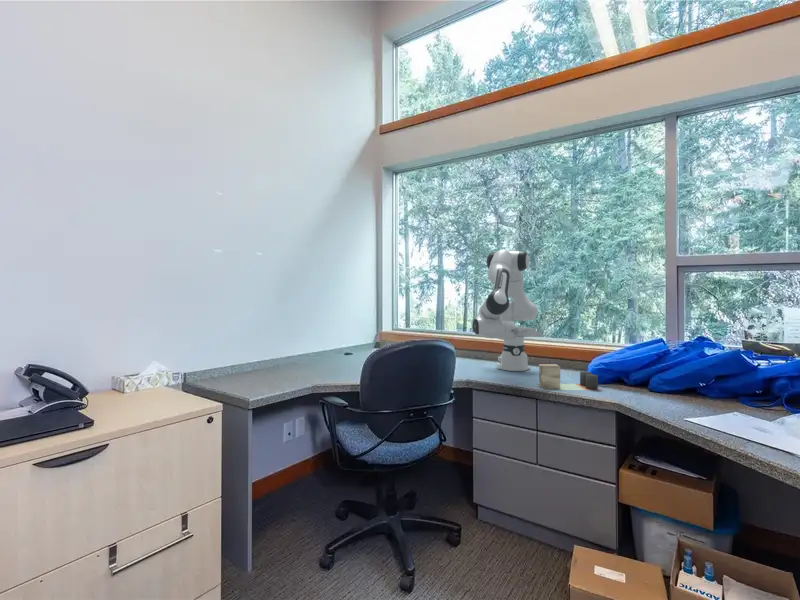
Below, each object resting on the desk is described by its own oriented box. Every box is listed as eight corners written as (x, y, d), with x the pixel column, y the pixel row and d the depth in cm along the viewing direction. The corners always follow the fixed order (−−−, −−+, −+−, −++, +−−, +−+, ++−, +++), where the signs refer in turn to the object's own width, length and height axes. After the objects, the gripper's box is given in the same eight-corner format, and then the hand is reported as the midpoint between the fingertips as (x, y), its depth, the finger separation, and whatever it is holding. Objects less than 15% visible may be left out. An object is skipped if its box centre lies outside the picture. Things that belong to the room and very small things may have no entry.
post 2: (583, 387, 184) (583, 374, 184) (594, 387, 184) (594, 374, 184) (588, 389, 179) (588, 376, 179) (599, 389, 179) (600, 376, 179)
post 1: (578, 384, 190) (578, 371, 190) (588, 384, 190) (589, 371, 190) (582, 386, 185) (582, 373, 185) (593, 386, 185) (593, 373, 185)
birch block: (539, 385, 188) (539, 364, 187) (556, 385, 187) (556, 364, 187) (542, 388, 183) (542, 366, 182) (560, 388, 182) (560, 366, 182)
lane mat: (536, 384, 191) (536, 383, 191) (589, 385, 190) (589, 383, 190) (545, 391, 179) (545, 390, 179) (601, 391, 178) (601, 390, 178)
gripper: (518, 322, 174) (547, 326, 176) (500, 325, 194) (527, 328, 196) (516, 337, 173) (546, 341, 175) (499, 337, 193) (526, 341, 195)
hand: (536, 334), depth 185 cm, fingers open, 8 cm apart
